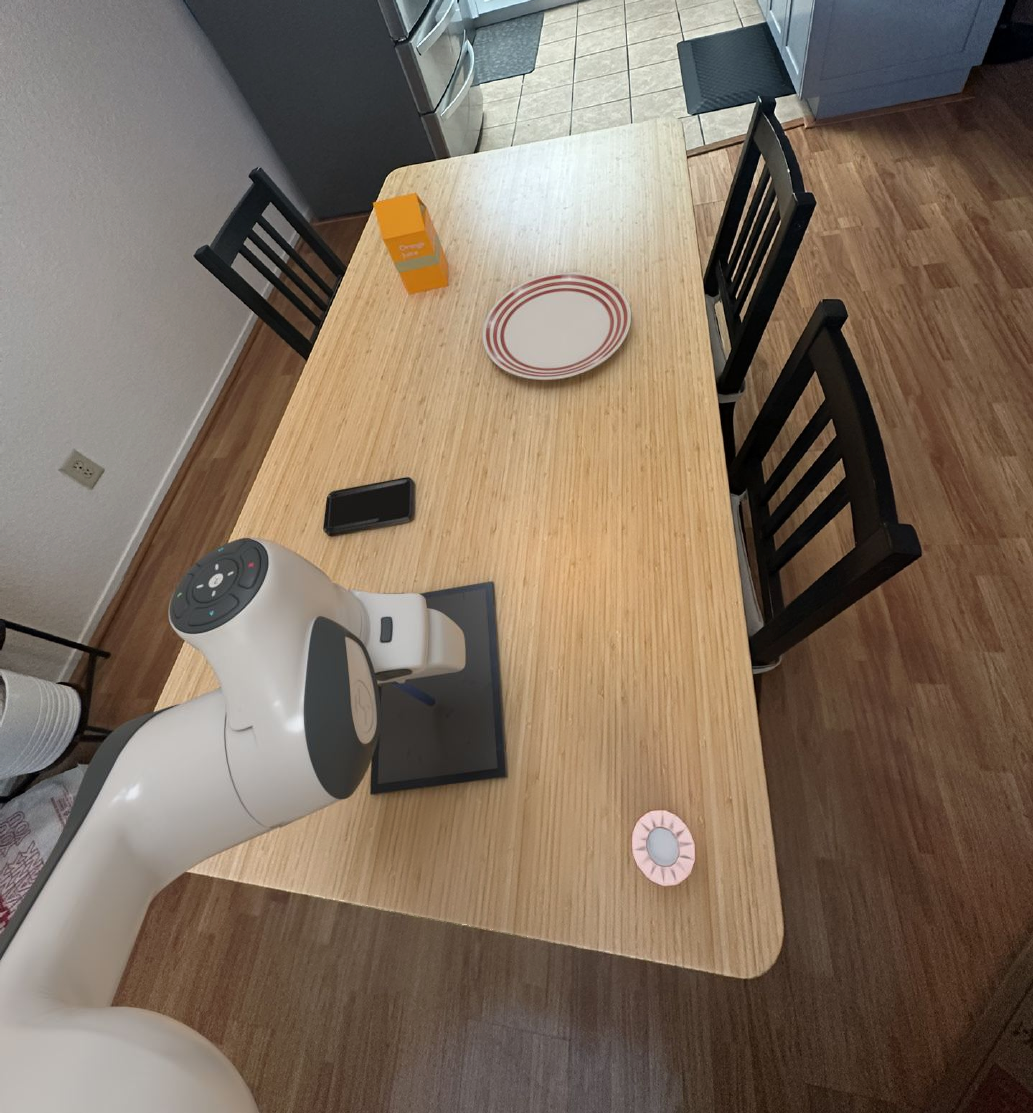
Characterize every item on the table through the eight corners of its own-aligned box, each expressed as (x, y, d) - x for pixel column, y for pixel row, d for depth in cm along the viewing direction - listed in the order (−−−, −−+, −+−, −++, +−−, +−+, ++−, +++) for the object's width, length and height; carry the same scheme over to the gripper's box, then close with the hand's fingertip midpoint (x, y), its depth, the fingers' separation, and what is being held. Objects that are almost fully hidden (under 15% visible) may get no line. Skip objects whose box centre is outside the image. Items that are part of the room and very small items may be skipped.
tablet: (508, 777, 69) (506, 776, 68) (373, 795, 71) (369, 794, 70) (494, 583, 83) (492, 580, 82) (381, 602, 85) (378, 599, 84)
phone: (327, 492, 97) (412, 475, 95) (330, 495, 98) (415, 479, 96) (322, 535, 92) (412, 518, 91) (325, 538, 93) (414, 522, 92)
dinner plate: (472, 309, 117) (468, 297, 114) (601, 265, 117) (600, 252, 114) (505, 411, 101) (500, 399, 98) (655, 360, 100) (655, 347, 98)
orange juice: (410, 271, 128) (373, 191, 112) (448, 262, 127) (417, 180, 111) (408, 295, 124) (370, 215, 108) (448, 286, 123) (415, 204, 107)
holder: (696, 874, 61) (703, 882, 50) (642, 879, 61) (637, 889, 51) (682, 810, 64) (686, 805, 54) (631, 816, 65) (624, 813, 54)
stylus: (436, 706, 73) (380, 673, 59) (428, 707, 73) (370, 675, 59) (436, 697, 74) (381, 662, 59) (428, 698, 74) (370, 664, 59)
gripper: (211, 699, 50) (293, 723, 61) (439, 664, 48) (481, 695, 59) (225, 625, 54) (300, 660, 65) (438, 589, 51) (478, 632, 62)
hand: (388, 677), depth 62 cm, fingers closed on stylus, 1 cm apart
